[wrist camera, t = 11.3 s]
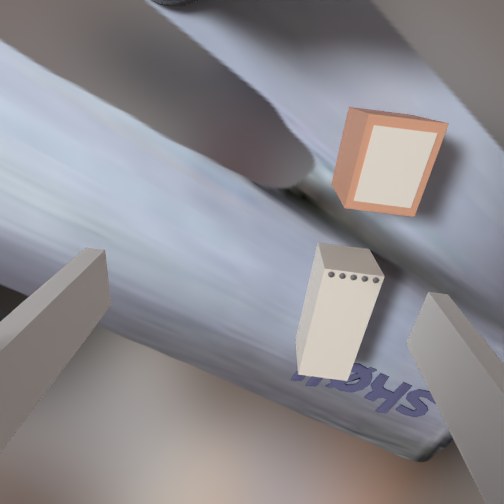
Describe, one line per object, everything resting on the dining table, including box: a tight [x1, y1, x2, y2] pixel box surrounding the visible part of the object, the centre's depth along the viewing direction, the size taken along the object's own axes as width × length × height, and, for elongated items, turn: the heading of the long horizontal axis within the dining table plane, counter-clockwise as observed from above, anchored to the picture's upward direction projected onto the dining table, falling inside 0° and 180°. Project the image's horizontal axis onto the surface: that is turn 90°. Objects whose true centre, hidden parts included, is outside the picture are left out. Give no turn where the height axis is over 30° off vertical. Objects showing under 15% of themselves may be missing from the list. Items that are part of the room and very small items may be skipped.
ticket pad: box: [296, 243, 385, 381], centre depth 51 cm, size 20×8×8 cm, turn 174°
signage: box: [291, 363, 436, 417], centre depth 64 cm, size 28×1×10 cm
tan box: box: [332, 107, 449, 217], centre depth 39 cm, size 10×8×10 cm
